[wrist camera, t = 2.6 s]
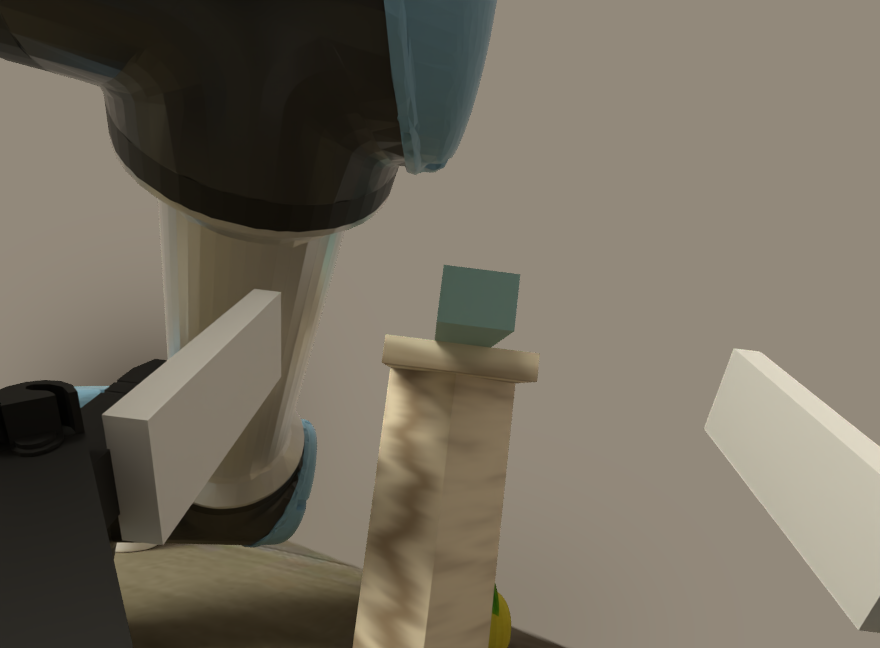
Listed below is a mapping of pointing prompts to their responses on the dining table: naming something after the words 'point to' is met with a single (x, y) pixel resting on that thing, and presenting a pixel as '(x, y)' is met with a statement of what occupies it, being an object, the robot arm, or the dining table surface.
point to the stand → (438, 494)
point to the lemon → (499, 623)
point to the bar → (476, 306)
